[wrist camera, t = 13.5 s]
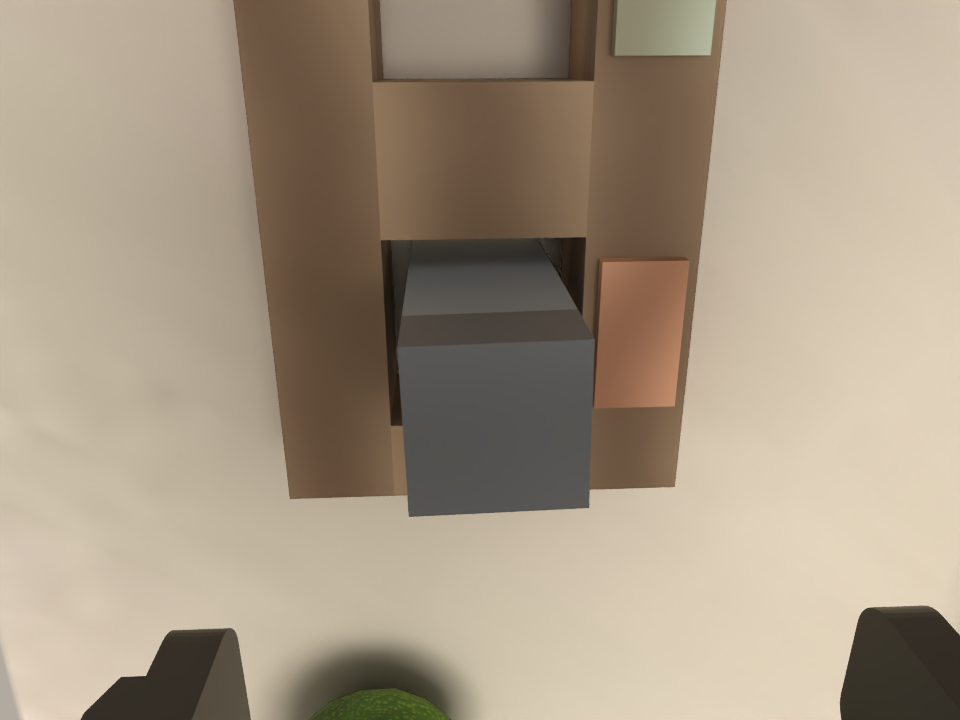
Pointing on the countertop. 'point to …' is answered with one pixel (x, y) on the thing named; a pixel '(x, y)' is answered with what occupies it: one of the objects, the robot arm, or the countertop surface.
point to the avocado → (380, 707)
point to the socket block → (477, 215)
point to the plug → (493, 380)
